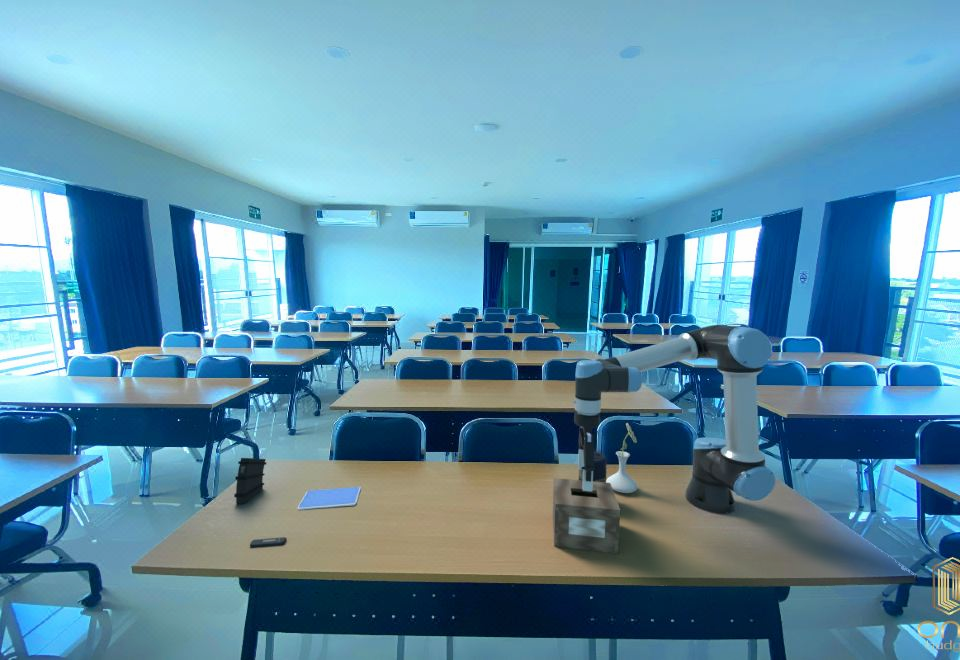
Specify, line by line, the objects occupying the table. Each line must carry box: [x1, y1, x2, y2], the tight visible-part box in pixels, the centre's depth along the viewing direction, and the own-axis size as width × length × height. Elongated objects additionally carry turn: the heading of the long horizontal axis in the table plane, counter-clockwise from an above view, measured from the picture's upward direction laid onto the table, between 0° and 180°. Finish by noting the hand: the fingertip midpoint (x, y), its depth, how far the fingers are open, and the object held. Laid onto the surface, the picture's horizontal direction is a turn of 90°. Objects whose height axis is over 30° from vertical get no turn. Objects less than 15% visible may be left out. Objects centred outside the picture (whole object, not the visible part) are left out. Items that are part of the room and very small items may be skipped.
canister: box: [578, 450, 607, 483], centre depth 135 cm, size 10×10×18 cm
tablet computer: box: [297, 486, 362, 511], centre depth 135 cm, size 19×13×1 cm, turn 99°
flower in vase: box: [606, 422, 638, 494], centre depth 144 cm, size 13×11×25 cm
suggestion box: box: [552, 477, 621, 555], centre depth 116 cm, size 18×16×13 cm
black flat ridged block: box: [233, 457, 267, 505], centre depth 136 cm, size 4×13×15 cm, turn 179°
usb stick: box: [249, 536, 288, 548], centre depth 110 cm, size 10×3×2 cm, turn 98°
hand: (584, 479), depth 115 cm, fingers open, 13 cm apart
